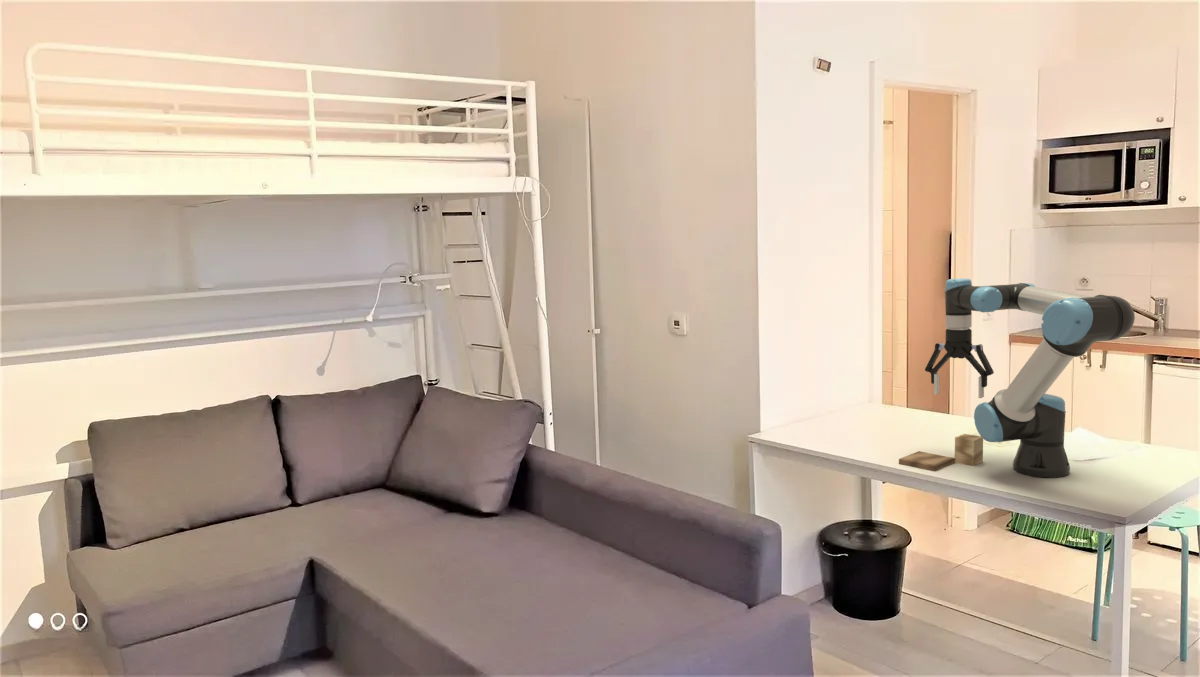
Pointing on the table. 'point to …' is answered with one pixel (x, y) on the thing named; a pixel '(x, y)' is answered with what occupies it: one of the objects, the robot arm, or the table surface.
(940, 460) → the walnut board
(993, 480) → the table surface
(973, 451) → the oak block
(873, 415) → the table surface
